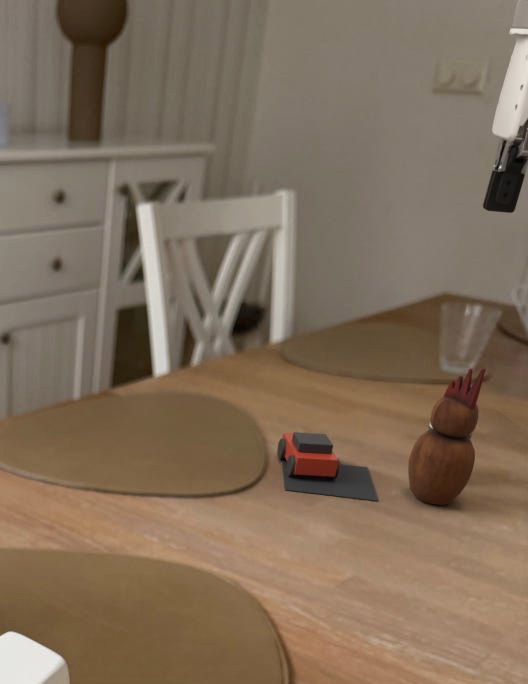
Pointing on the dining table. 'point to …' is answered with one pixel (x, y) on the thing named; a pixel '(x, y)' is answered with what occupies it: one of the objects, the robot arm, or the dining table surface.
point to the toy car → (308, 455)
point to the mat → (334, 483)
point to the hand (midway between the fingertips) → (497, 210)
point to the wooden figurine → (446, 444)
